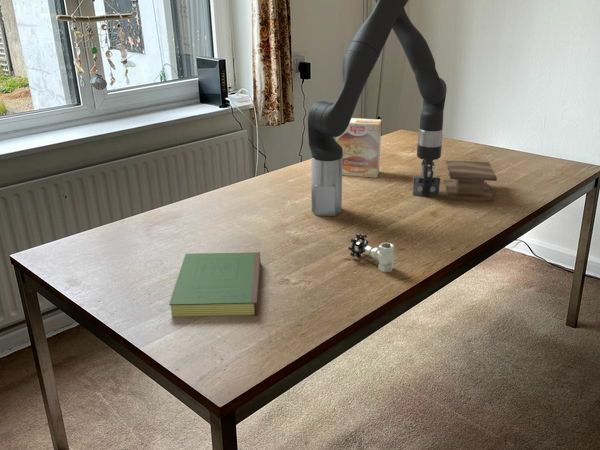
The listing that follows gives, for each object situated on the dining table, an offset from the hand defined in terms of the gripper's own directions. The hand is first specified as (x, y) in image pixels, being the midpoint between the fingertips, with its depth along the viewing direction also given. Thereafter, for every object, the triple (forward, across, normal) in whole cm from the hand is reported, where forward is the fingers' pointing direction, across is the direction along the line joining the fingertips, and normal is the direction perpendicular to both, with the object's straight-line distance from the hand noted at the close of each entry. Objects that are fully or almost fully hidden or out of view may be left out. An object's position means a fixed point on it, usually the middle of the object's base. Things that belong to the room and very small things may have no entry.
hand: (425, 193), depth 196 cm
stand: (0, +4, -14) cm, 15 cm away
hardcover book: (+1, -67, +52) cm, 85 cm away
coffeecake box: (+1, +19, +23) cm, 30 cm away
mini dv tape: (+1, 0, 0) cm, 1 cm away
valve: (+1, -51, +16) cm, 53 cm away
